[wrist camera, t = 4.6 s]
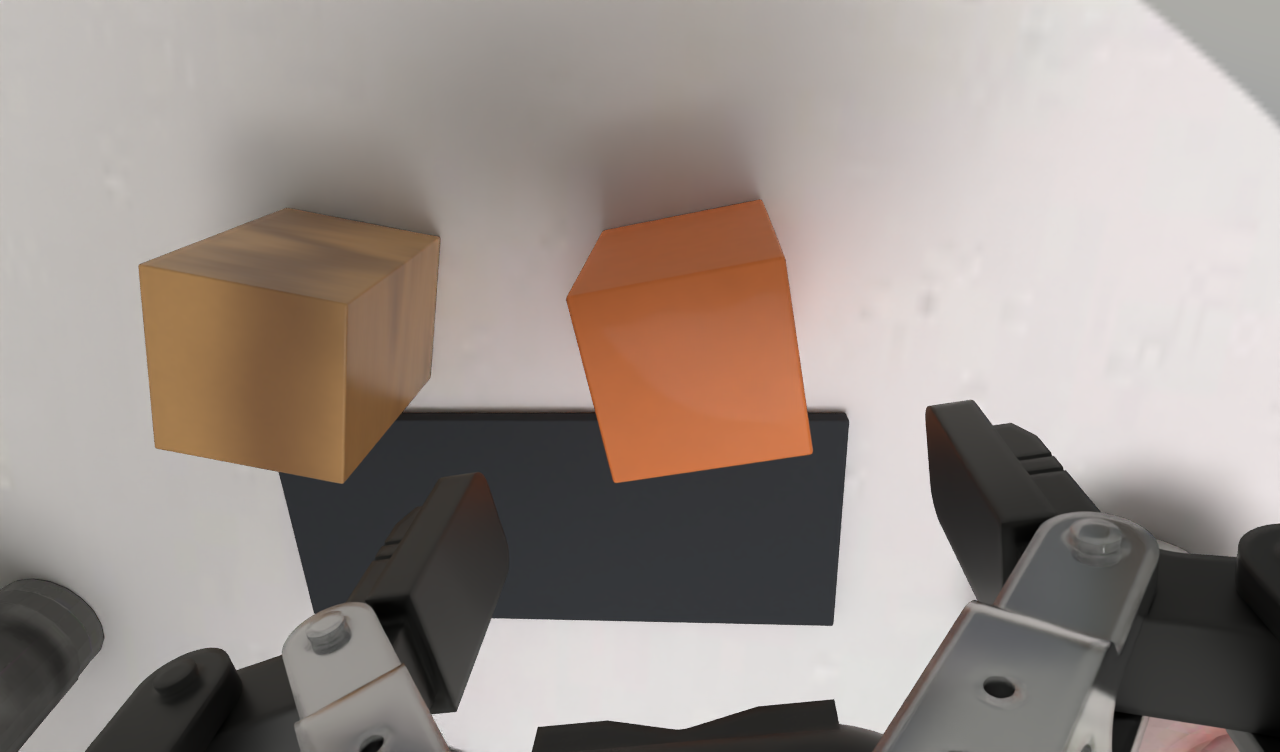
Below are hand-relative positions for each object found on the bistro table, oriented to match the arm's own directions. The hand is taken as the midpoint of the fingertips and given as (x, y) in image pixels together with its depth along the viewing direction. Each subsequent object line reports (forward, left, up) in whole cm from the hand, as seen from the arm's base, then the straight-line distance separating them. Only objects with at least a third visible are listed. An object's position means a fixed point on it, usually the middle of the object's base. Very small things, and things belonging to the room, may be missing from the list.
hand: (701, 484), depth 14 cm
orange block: (0, 0, -12) cm, 12 cm away
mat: (-5, -8, -12) cm, 15 cm away
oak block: (-11, 0, -12) cm, 16 cm away
